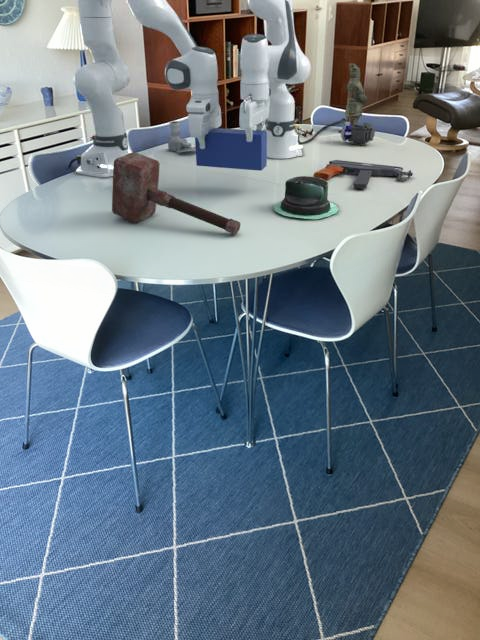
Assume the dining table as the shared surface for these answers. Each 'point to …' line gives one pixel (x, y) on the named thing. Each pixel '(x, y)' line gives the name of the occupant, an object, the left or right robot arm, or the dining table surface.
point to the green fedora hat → (306, 199)
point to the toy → (357, 133)
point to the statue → (354, 96)
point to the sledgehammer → (152, 194)
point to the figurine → (302, 131)
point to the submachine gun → (360, 171)
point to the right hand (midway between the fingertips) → (254, 138)
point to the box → (233, 149)
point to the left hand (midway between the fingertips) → (207, 145)
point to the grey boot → (177, 139)
